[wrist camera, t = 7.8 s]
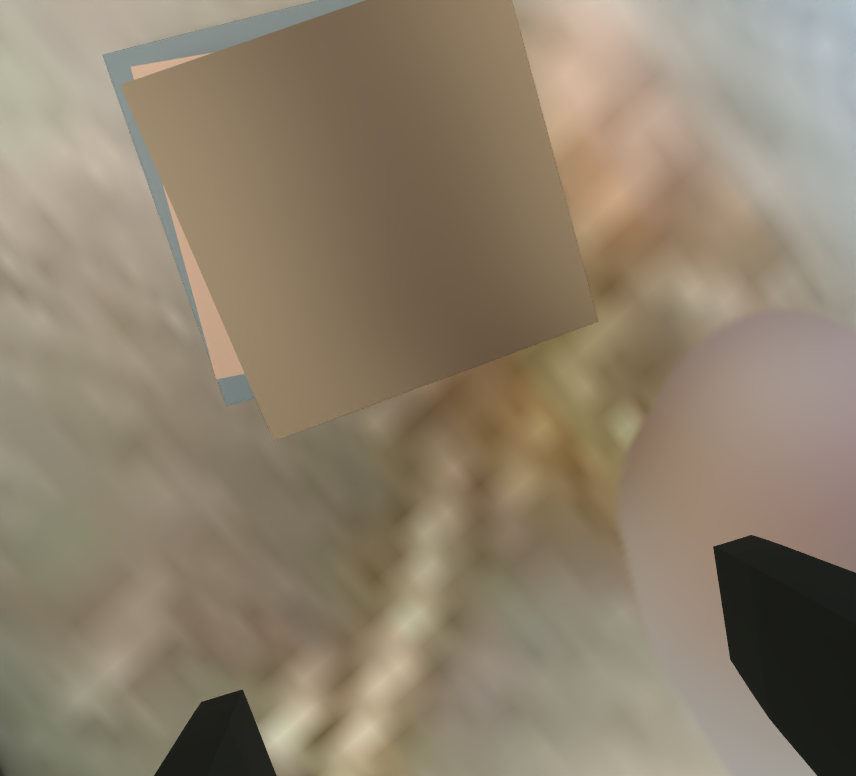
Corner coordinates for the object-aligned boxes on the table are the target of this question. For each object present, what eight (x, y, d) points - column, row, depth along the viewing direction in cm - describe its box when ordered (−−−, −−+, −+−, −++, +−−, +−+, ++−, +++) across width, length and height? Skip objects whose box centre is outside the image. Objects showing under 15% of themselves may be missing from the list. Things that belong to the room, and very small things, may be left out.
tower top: (228, 351, 18) (216, 379, 16) (156, 80, 16) (130, 66, 14) (476, 300, 19) (500, 320, 16) (432, 32, 17) (453, 11, 14)
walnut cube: (284, 357, 16) (273, 441, 11) (183, 111, 14) (119, 85, 9) (512, 274, 16) (598, 321, 11) (437, 23, 14) (499, -46, 10)
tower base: (236, 378, 21) (226, 405, 18) (130, 69, 18) (102, 55, 16) (518, 299, 21) (543, 315, 19) (449, -12, 19) (469, -38, 17)
